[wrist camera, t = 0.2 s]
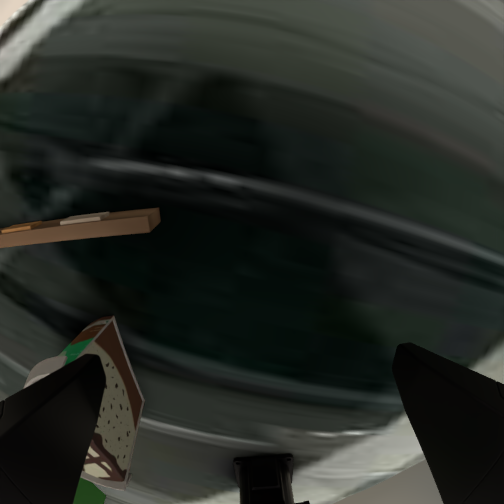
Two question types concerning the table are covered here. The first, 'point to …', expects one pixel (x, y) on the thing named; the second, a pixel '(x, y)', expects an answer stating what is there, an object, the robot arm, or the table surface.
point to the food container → (105, 402)
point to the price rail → (81, 227)
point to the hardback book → (88, 493)
